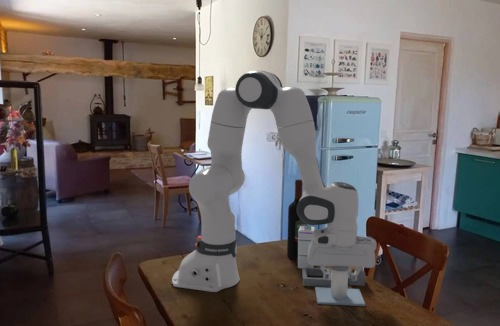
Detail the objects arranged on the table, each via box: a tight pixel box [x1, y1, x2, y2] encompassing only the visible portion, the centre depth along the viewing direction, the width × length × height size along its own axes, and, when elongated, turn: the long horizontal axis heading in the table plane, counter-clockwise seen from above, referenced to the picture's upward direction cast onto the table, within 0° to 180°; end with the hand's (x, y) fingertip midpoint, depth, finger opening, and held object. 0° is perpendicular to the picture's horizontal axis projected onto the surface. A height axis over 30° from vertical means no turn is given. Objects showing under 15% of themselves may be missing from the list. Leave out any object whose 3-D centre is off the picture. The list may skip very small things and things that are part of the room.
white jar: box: [330, 266, 350, 299], centre depth 128 cm, size 5×5×10 cm
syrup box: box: [297, 225, 316, 270], centre depth 152 cm, size 6×6×14 cm
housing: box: [301, 267, 366, 288], centre depth 140 cm, size 20×9×4 cm, turn 85°
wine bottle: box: [286, 179, 309, 260], centre depth 161 cm, size 8×8×30 cm
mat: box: [314, 286, 366, 307], centre depth 129 cm, size 14×10×1 cm
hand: (339, 279), depth 128 cm, fingers open, 7 cm apart
